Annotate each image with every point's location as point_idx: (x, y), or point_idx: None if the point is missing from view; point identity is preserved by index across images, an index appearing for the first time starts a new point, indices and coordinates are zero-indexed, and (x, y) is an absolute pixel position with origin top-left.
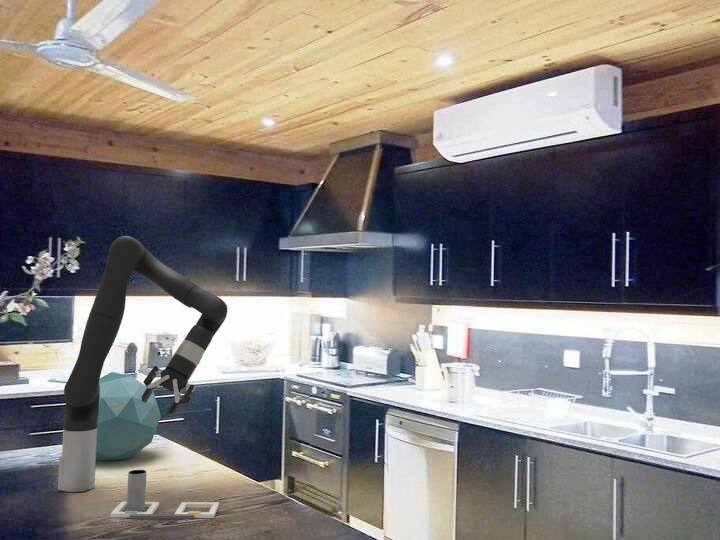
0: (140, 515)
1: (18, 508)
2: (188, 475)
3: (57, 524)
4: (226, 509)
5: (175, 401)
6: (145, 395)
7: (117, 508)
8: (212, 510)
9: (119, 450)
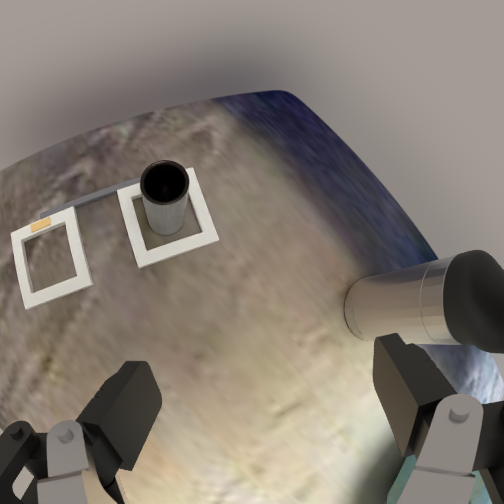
0: (132, 179)
1: (361, 176)
2: (226, 490)
3: (253, 124)
4: (11, 294)
5: (78, 427)
6: (405, 358)
7: (198, 196)
8: (18, 253)
9: (407, 465)
